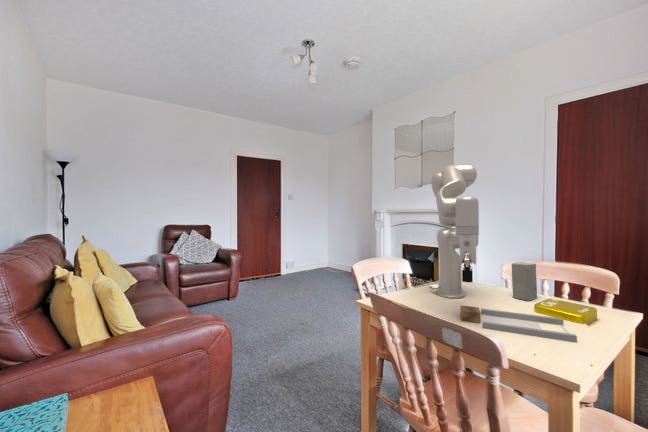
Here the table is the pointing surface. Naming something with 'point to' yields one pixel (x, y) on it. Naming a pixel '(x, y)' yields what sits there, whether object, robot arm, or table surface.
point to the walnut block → (470, 314)
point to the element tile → (567, 311)
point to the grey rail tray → (524, 324)
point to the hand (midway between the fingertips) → (467, 279)
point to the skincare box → (524, 281)
